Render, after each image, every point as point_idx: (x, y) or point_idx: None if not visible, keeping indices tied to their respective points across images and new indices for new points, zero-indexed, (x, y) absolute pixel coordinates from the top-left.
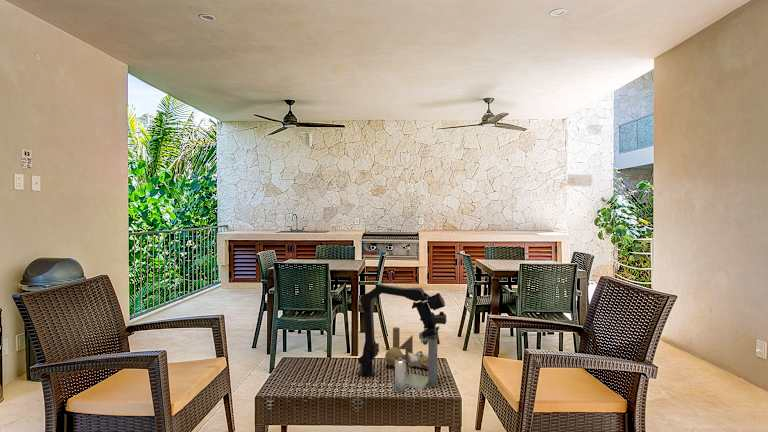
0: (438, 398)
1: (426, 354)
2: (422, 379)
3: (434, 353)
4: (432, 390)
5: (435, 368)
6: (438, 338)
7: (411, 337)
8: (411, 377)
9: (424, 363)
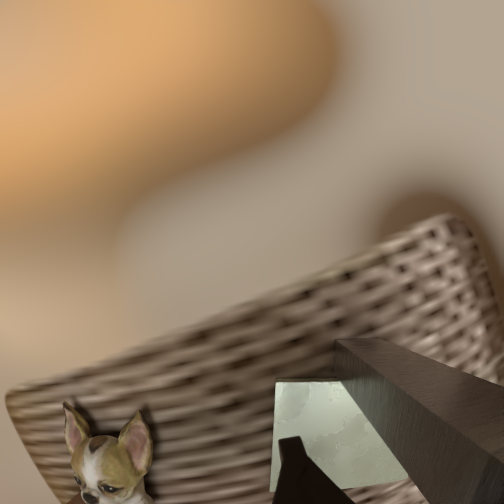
0: (480, 270)
1: (82, 468)
2: (332, 419)
3: (480, 378)
4: (419, 329)
5: (398, 354)
6: (316, 492)
7: None
8: (322, 470)
9: (134, 460)
